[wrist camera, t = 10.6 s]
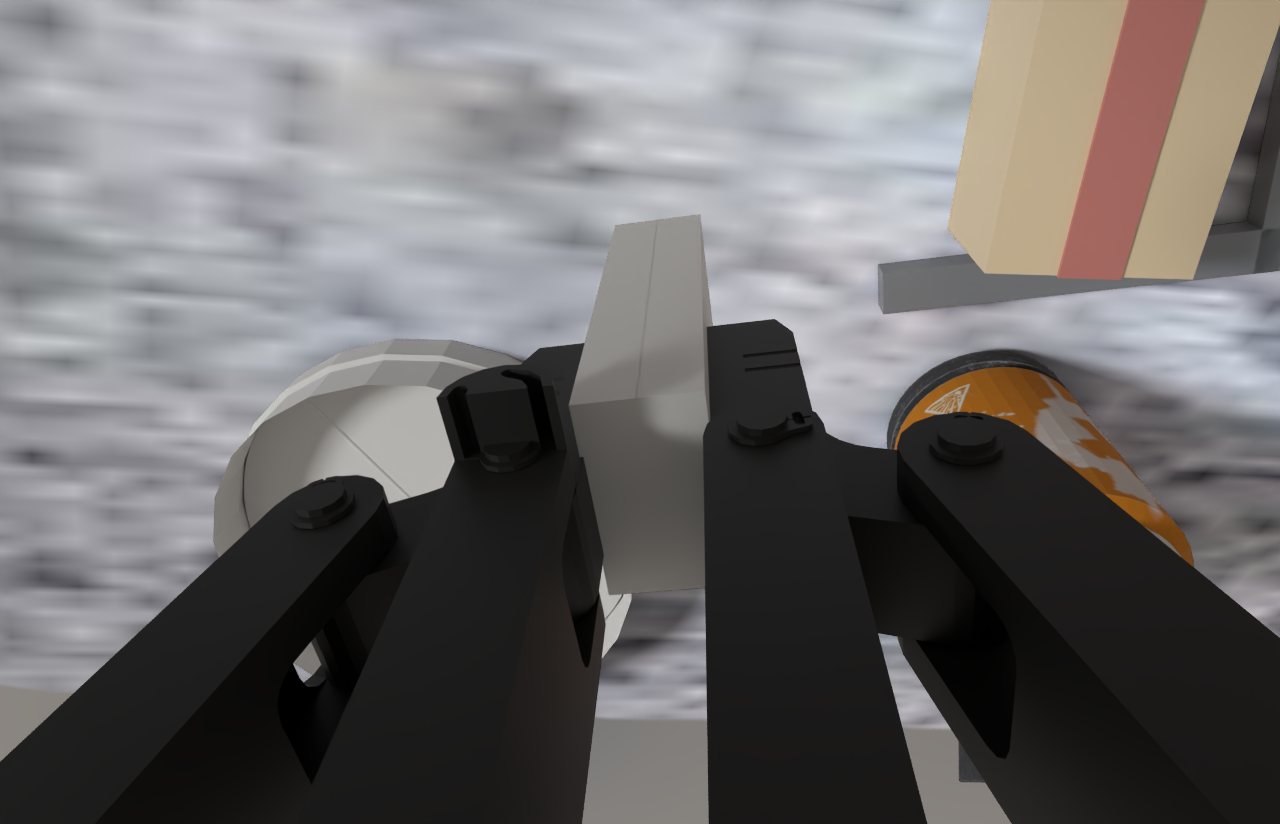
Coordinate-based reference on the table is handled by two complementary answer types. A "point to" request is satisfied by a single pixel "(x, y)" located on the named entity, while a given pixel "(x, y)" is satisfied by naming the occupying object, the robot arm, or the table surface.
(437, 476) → the dish
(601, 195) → the table surface
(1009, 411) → the canister
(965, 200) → the carton
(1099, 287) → the dark grey flat u-shape
